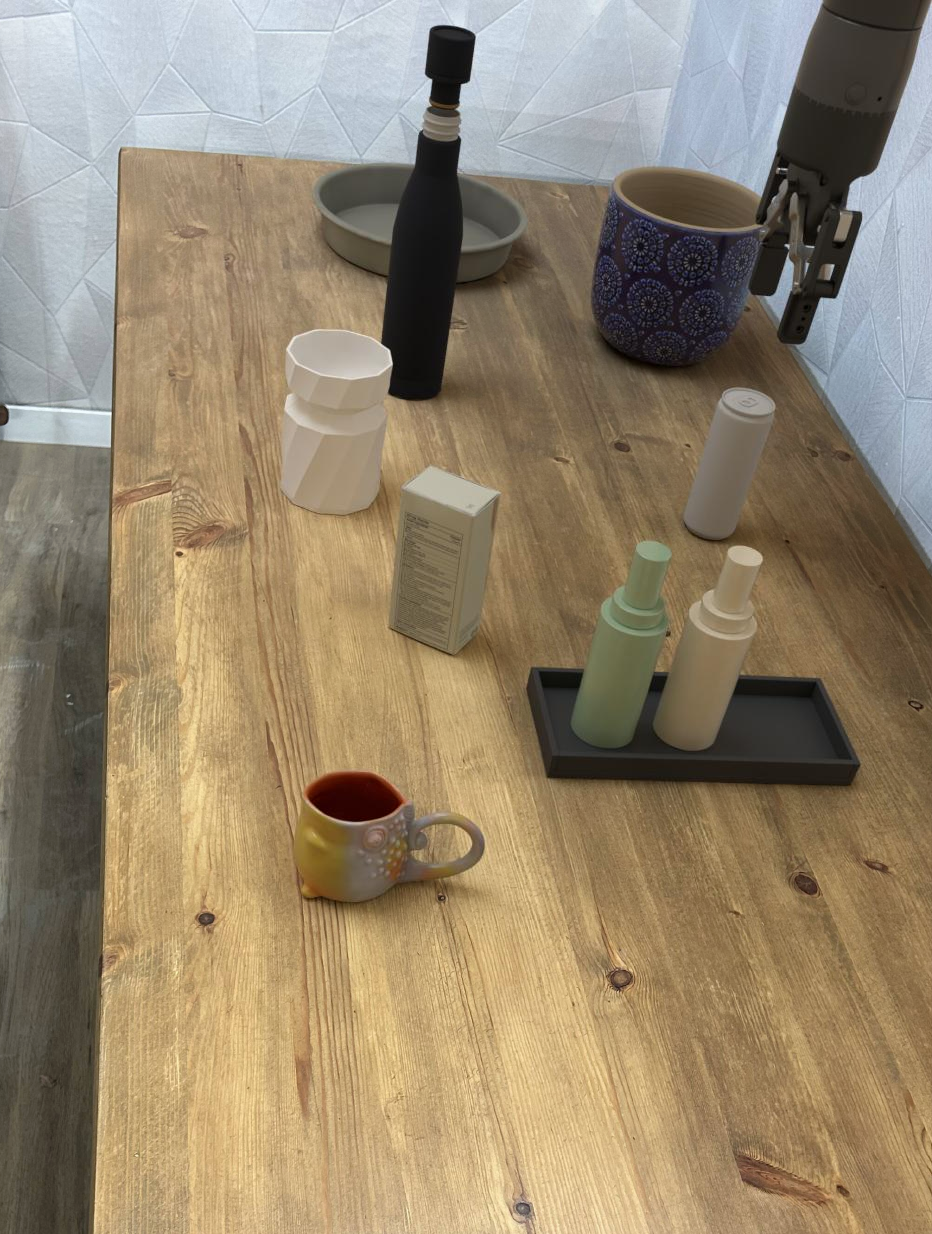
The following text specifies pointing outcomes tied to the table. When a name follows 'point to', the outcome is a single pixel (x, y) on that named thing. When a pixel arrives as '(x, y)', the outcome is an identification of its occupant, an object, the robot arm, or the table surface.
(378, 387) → the vase
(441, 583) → the cosmetic box
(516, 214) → the cake pan
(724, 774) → the tray
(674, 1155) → the table surface
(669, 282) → the planter
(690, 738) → the cream bottle
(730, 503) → the beverage can
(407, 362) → the black bottle
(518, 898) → the table surface
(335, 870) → the mug
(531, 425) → the table surface
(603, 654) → the sage bottle
